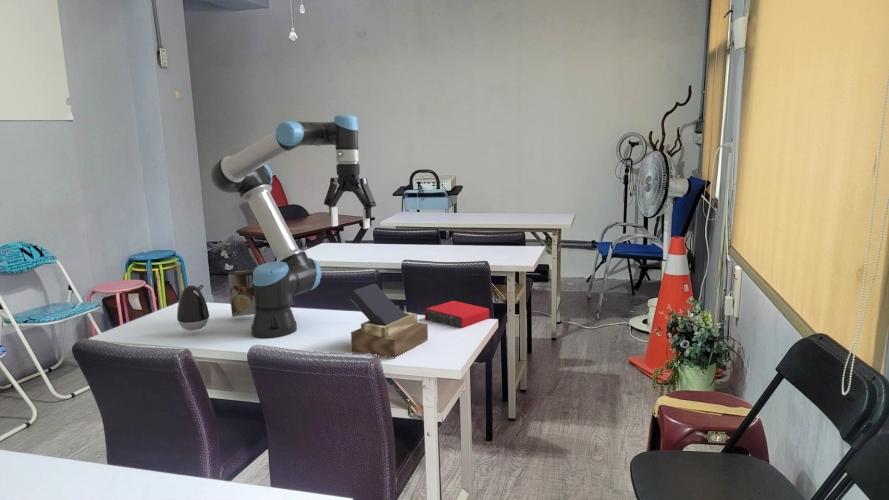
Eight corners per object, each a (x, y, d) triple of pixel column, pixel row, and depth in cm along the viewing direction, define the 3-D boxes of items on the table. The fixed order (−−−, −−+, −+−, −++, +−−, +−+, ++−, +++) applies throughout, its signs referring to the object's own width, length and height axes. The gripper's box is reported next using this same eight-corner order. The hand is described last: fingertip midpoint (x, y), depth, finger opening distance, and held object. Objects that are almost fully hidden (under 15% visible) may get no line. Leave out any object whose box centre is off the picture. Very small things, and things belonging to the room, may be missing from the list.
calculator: (347, 298, 182) (379, 334, 178) (354, 288, 180) (386, 324, 176) (369, 290, 191) (399, 324, 187) (376, 281, 189) (406, 315, 185)
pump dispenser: (216, 325, 209) (213, 283, 206) (193, 334, 200) (189, 290, 197) (195, 322, 213) (192, 281, 211) (171, 330, 204) (167, 287, 201)
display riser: (351, 351, 180) (350, 322, 179) (386, 334, 196) (385, 308, 194) (395, 360, 172) (394, 330, 171) (427, 342, 188) (427, 314, 186)
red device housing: (425, 321, 211) (424, 308, 210) (452, 313, 221) (452, 300, 221) (462, 331, 199) (462, 317, 198) (489, 322, 209) (489, 308, 208)
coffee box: (256, 310, 228) (253, 269, 226) (257, 314, 223) (254, 272, 220) (231, 312, 225) (227, 271, 222) (231, 317, 219) (228, 274, 217)
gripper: (311, 163, 198) (314, 226, 202) (371, 163, 186) (373, 230, 190) (326, 162, 205) (329, 223, 208) (385, 162, 192) (387, 227, 196)
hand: (350, 227), depth 199 cm, fingers open, 13 cm apart
